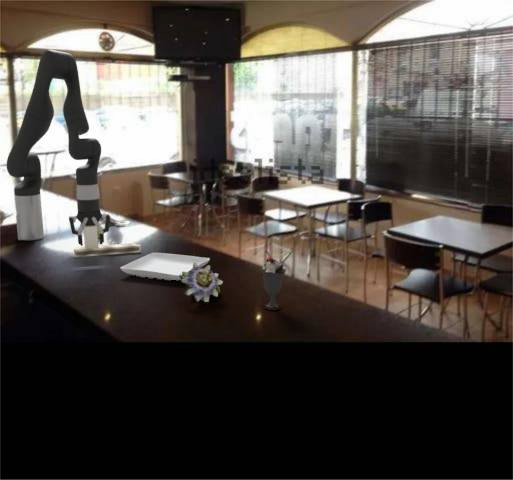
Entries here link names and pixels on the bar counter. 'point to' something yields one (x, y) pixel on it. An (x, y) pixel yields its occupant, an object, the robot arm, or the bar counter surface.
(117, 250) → the shelf board
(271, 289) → the sundae
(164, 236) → the bar counter surface
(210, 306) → the bar counter surface
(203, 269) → the passion flower
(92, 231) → the carton
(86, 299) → the bar counter surface
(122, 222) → the cloth
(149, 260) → the salad plate
